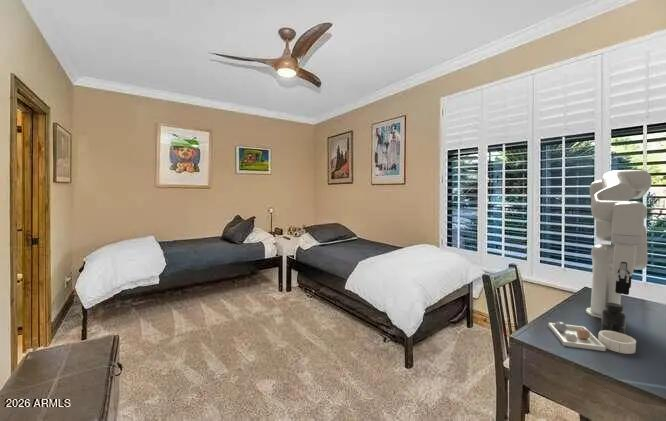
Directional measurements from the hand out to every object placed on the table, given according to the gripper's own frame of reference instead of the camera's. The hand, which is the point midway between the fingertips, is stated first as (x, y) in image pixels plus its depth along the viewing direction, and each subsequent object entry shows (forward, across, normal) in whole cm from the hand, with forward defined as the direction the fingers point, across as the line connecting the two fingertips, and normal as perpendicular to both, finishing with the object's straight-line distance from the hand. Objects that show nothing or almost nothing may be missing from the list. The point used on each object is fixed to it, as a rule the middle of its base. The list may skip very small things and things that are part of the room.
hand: (623, 290), depth 102 cm
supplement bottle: (+22, -16, -3) cm, 28 cm away
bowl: (+22, -5, -1) cm, 23 cm away
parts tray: (+22, -2, -12) cm, 25 cm away
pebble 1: (+22, -4, -17) cm, 28 cm away
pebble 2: (+22, +4, -12) cm, 25 cm away
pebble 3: (+22, -3, -11) cm, 24 cm away
